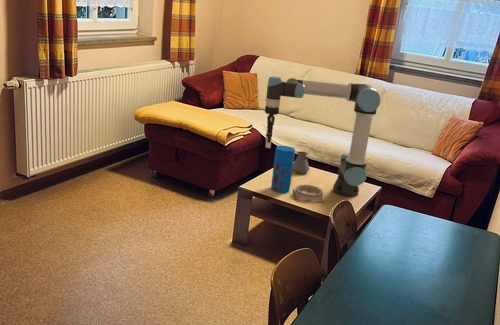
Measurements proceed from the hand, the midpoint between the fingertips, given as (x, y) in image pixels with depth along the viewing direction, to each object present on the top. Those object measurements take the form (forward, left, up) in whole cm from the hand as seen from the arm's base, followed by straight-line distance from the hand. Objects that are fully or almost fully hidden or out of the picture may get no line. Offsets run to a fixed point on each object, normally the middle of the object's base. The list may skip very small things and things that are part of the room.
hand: (268, 144), depth 267 cm
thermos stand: (-26, 0, -28) cm, 38 cm away
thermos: (-10, -5, -28) cm, 30 cm away
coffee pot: (-24, -35, -28) cm, 51 cm away
